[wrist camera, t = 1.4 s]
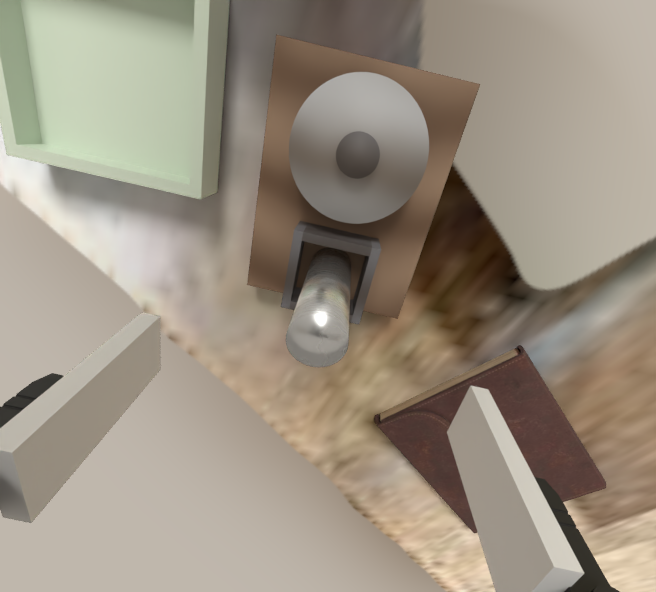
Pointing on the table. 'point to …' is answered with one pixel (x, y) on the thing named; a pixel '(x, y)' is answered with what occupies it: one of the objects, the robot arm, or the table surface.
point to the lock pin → (322, 311)
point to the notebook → (520, 416)
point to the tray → (117, 88)
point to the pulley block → (352, 170)
